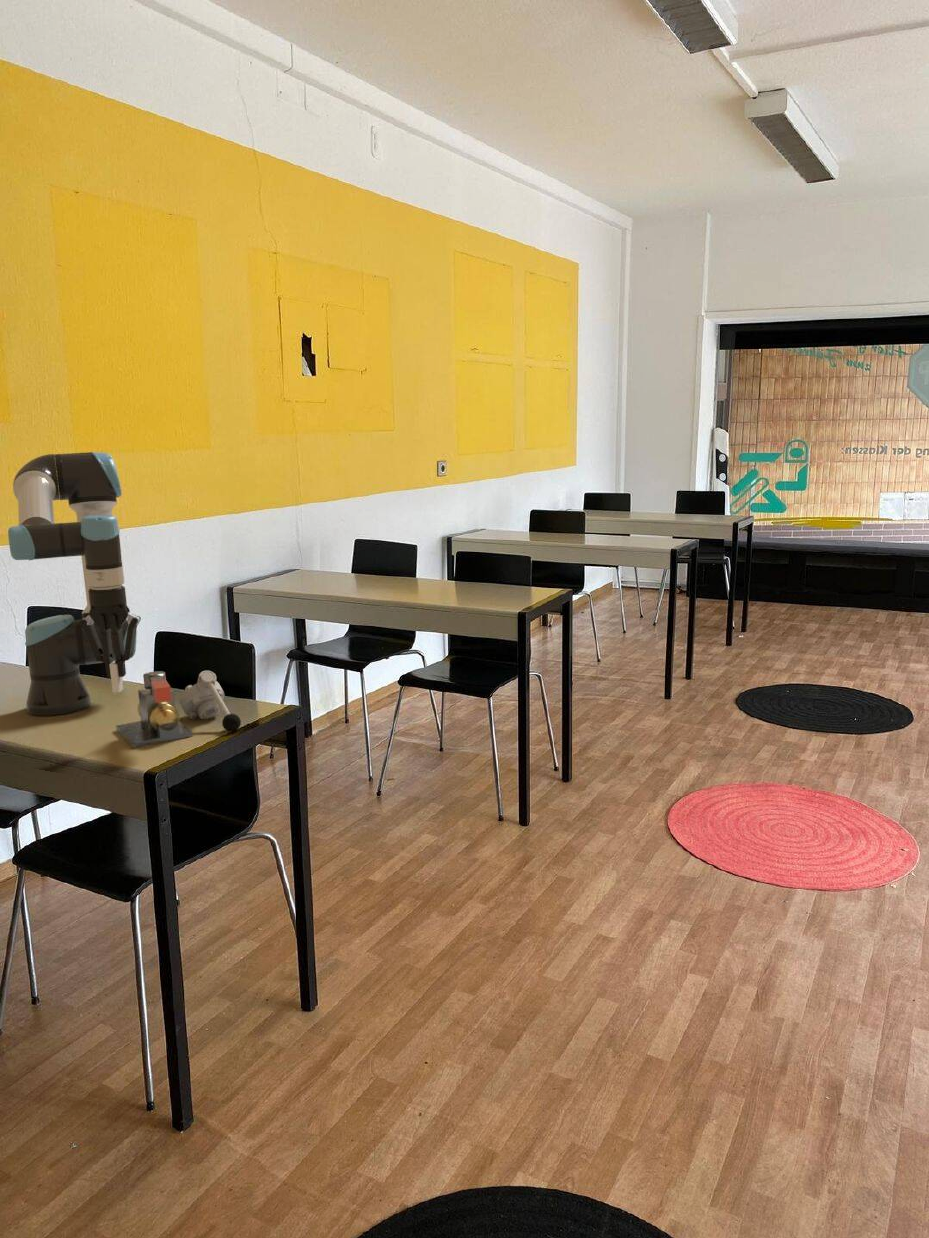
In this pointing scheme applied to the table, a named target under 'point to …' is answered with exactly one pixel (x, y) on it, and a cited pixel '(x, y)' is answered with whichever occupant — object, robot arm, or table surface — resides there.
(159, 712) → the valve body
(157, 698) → the lever
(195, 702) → the mechanical valve
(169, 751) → the table surface
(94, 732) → the table surface
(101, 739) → the table surface
